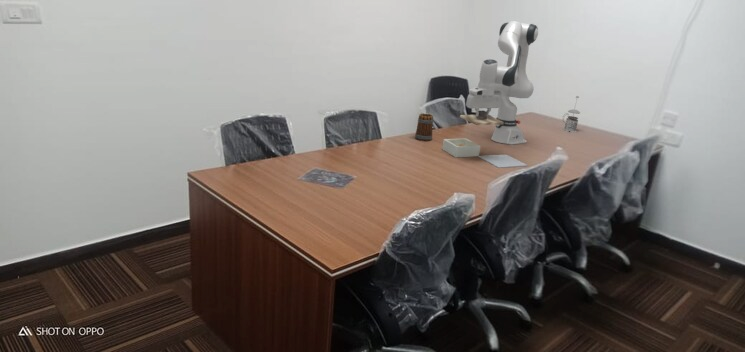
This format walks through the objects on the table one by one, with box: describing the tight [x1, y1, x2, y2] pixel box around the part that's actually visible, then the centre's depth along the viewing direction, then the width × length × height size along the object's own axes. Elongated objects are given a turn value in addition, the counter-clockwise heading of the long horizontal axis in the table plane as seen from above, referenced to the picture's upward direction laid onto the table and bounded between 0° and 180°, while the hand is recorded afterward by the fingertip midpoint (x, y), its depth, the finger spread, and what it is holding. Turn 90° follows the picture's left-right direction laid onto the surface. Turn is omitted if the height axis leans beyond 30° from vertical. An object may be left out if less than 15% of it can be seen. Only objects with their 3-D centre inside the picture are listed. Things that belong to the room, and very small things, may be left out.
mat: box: [477, 153, 528, 169], centre depth 275 cm, size 19×19×1 cm
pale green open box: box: [441, 137, 481, 158], centre depth 283 cm, size 15×15×6 cm
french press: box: [562, 95, 581, 133], centre depth 354 cm, size 10×12×25 cm
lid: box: [459, 110, 504, 126], centre depth 273 cm, size 17×17×5 cm
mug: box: [414, 112, 434, 142], centre depth 306 cm, size 16×11×15 cm
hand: (481, 116), depth 273 cm, fingers closed on lid, 4 cm apart
